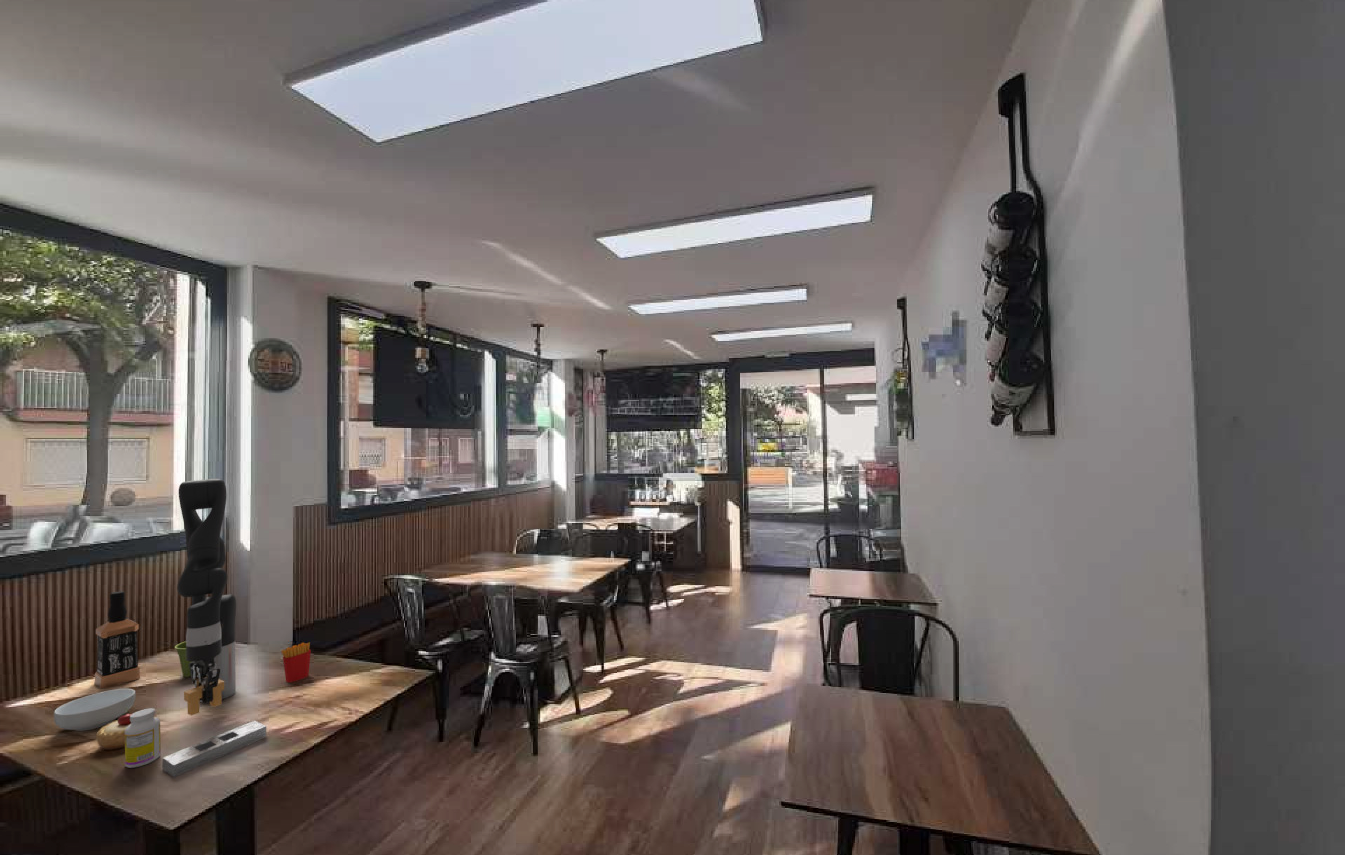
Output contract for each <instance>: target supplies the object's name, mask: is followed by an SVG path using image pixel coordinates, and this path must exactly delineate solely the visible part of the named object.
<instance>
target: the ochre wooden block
mask: <svg viewBox="0 0 1345 855" xmlns="http://www.w3.org/2000/svg"><path fill="white" fill-rule="evenodd" d="M222 690H224V681H222V680H220V679H219V680H218V684H217V687H213V700H212V701H211V702H209V705H210V706H211V707H213V708H216V707H218V706H220V705H222V700H223V699H222V696H221V691H222ZM200 698H202V685H201V686H199V687H193V688H190V689H187V690H185V691H184V692H183V700H184V701H185V702H186V703H187V714H188V715H189V716H191V717H192V716H194V715H198V714H199V713H200V710H201V709H200V708H201V707H200V705H201V704H200V701H199V699H200Z"/></svg>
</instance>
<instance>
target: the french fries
mask: <svg viewBox="0 0 1345 855" xmlns="http://www.w3.org/2000/svg"><path fill="white" fill-rule="evenodd" d="M310 645H311V642H307V643H305V642H300V643H299V644H298V645H297V644H295V645H292V646H291V647H289V646H288V647H286V649H282V650H281V653H282V661H283V669H284V676H285V682H287V683H293V682H297V681H300V680H302V679H305V678H307V677H308V676H309V673H310V664H311V663H310V662H311V652H312V651H311V649H310V647H311V646H310Z"/></svg>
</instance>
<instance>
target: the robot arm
mask: <svg viewBox="0 0 1345 855" xmlns="http://www.w3.org/2000/svg"><path fill="white" fill-rule="evenodd" d="M226 486H227V485H226V482H225V481H224V480H223V479H222V478H209V479H196V480H187V481H183V482H181V483H180V485H179V487H178V501H179V507H180V509H181V515H182V521H183V526H184V531H185V532H184V533H185V544H186V546H185V547H186V558H187V561H186V564H185V567H184V568H183V572H182V573H181V575H180V577H179V580H178V582H177V587H176V589H177V593H178V594H179V596H181V597H183V598H191V605H190V606H189V607H188V608H187V609H186V610H187V611H186V633H185V641H186V660H187V661H190V662H192V663H189V668H190V673H191V676H190V677H191V683H192V684H193V685H194V688H196V687H199V686H201V685H202V698H200V699H199V703H202V704H205V705H206V704H207V703H210V702H211V701H212V700H213V687H217V684H218V680H219V679H220V680H222V681H224V690H222V691H221V696H222V700H223V699H226V698H230V697H231V696H233V695H235V693H236V690H237V689H236V688H237V686H236V685H237V684H236V683H237V682H236V679H237V678H236V617H237V616H236V613H237V599H236V597H235V595H234V594H224V591H225V589H226V586H227V583H228V577H229V576H228V573H227V571H226V570H225V569H224V568H223V567H224V565H225V563H226V561H227V560H226V559H227V557H226V556H227V555H226V546H225V542H224V540H223V538H222V537H221V532H222V526H223V522H224V515H225V511H226V505H227V504H226V503H227V496H228V495H227V487H226ZM206 509H211V510H210V512H209V514H208V515H207V517H206V518H205V519H204V520H202V519H201V517H200V516H199V514H198V512H197V510H206ZM207 595H210V596H207Z"/></svg>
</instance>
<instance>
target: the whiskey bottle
mask: <svg viewBox="0 0 1345 855" xmlns="http://www.w3.org/2000/svg"><path fill="white" fill-rule="evenodd" d="M125 594H126V592H125V591H123V590H120V591H119V590H118V591H113V592H111V593H110V595H109V603H110V605H109V608H108V611H107V612H108V613H107V617H108V618H107V619H108V621H107V622H105V623H103V624H102V625H100V626H98V627H97V628H95V635H97V652H96V672H95V673H94V684H95V685H96V687H98V688H99V689H100V690H102V689H103V690H104V689H108V688H111V687H115V686H119V685H122V684H125V683H129V682H133V681H135V680H139V679H141V672H140V667H139V665H138V664H139V663H138V662H139V661H138V656H139V655H138V633H137V631H138V630H139V628H140V626H139V625H140V624H139V623H137V622H135V621H134V620H131V619H128V618H127V613H128V611H127V606H126V604H125V601H126V598H125V597H126V595H125Z"/></svg>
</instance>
